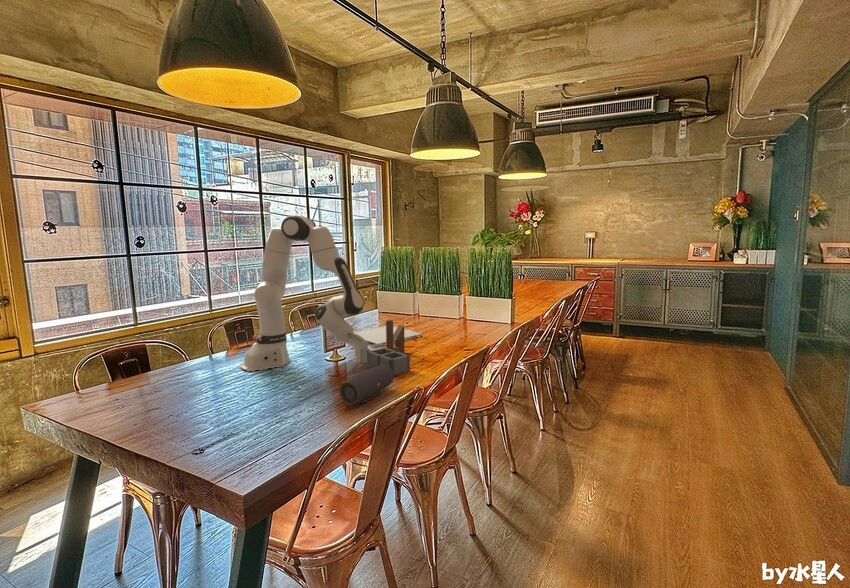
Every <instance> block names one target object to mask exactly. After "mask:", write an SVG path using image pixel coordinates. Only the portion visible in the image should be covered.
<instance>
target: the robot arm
mask: <svg viewBox="0 0 850 588" xmlns="http://www.w3.org/2000/svg"><path fill="white" fill-rule="evenodd" d="M302 241H306V242H307V244H308V245H309V248H310V252H311V255H312V259H313V261H314V263H315V266H316V267H318V268H319V269H320V270H322V271H327V272H331V273H332V274H334V275H336V277H337V278H338V280H339V283H340V286H341V288H342V290H343V293H344V294H340V295H335V296H332V297H330V298H329V299H328V300H327V301H326V303H323V304H321V305H319V306H318V307H317V308H316V310H315V312H314V318H315V320H316V322H317V323H318V324H319V325H320V326H321V327H322V328H323V329H324V330H325V331H327V332H328V333H331V334H329V336H331V338H332V337H333V338H334V339H336V340H337V341H338V342H340V343H343V344H346V345H349V346H351V347H353V348H354V349H355V347H357V348H360V349H363V350H364V351H365V352H367V351H370V348H369V347H368V346H369V343H368V342H367V341H366V340H365V339H363V338H362V337H361V336H359V335H357V334H354V327H353V326H352V325H351V324H350V323H348V321H346V320H345V317H346V316H353V315H355V316H356V315H357V316H358V315H360V314H361V312H362V310H363V308H364V303H365V302H364V298H363V296H362V294H361V293H360V292H359V290H358V287H357V286H356V282H355V280H354V277H353V275H352V273H351V270H350V269H349V266H348V264H347V262H346V261H345V259H343V258H341V256H340V254H339V252H338V250H337V247H336V243H335V241H334V238H333V235H332V233H331V231H330V229H329V228H328V227H326V226H323V225H318V226H317V224H316V222H315V221H314V220H312V219H311V218H309V217H307V216H303V215H290V216H287V217H286V218H284V219H283V220H282V223H281V224H280V226H275V227H273V228H271V229H270V231H269V234H268V236H267V239H266V244H265V247H264V253H263V259H262V265H261V267H262V274H261V275H262V276H261V282H260V283H259V284H258V285H257V286H256V288H255V291H254V294H253V295H254V300H255V304H256V305H255V306H256V311H257V313H258V314H257V315H258V320H259V323H258V324H259V334H258V335H256V334H254V335H252V339H253V340H255V341H256V343H255V344H254V345H253V346H251V347H250V348H248V350H247V351H246V352H245V354H244V358H243V359H244V360H243V362H240V363H239V365H238V366H239V369H240V370H242V369H243V370H242V371H244V370H246V371H245V372H249V371H252V372H256V371H255V370H259V371H262V370H261V369H265V370H268V369H267V368H272V369H275V368H274V367H278V368H282V366H284V367H285V366H286V365H288V364H289V363H290V362H291V358H290V356H289V355H290V354H289V351H288V347H287V339H288V337H287V332H286V325H285V315H284V310H283V305H282V299H283V298H284V296H285V293H286V287H287V274H288V266H289V262H290V257H291V251H292V250H291V249H292V245H293V244H294V242H302ZM285 364H286V365H285Z"/></svg>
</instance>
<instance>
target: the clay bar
mask: <svg viewBox="0 0 850 588" xmlns="http://www.w3.org/2000/svg"><path fill="white" fill-rule="evenodd" d="M354 350H355V353H354V354H355V363H358V364H360V365H361V364H363V363H364V364H365V363H367V352H365V351H364V350H363V349H360V348H357V347H355V348H354Z"/></svg>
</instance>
